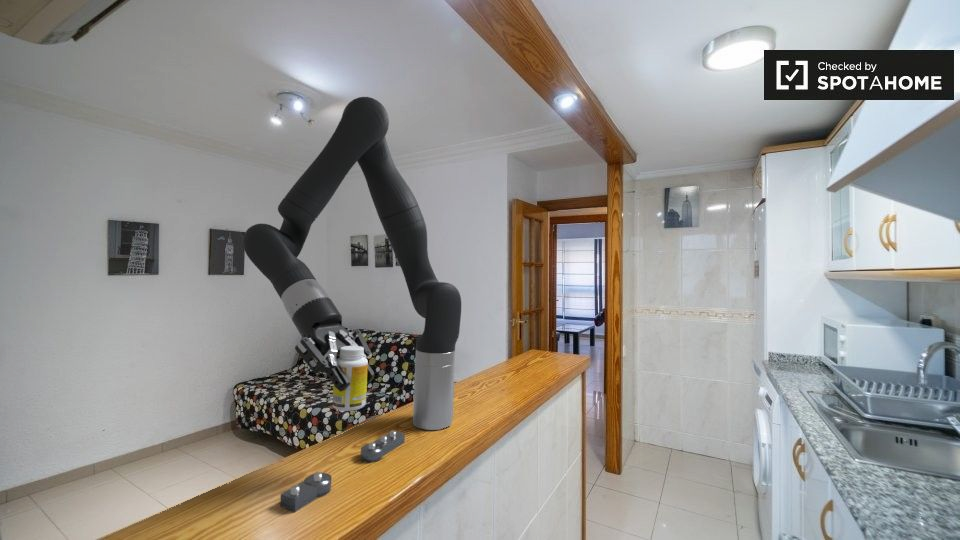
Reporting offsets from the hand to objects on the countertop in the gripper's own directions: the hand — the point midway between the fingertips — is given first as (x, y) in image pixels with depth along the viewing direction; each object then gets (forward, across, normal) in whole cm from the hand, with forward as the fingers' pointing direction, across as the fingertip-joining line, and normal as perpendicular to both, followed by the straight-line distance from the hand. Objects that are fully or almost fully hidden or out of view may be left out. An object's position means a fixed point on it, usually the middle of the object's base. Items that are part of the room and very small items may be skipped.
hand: (358, 383), depth 67 cm
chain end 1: (+10, -9, +12) cm, 18 cm away
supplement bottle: (+2, 0, +4) cm, 5 cm away
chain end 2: (+10, +10, +12) cm, 18 cm away
